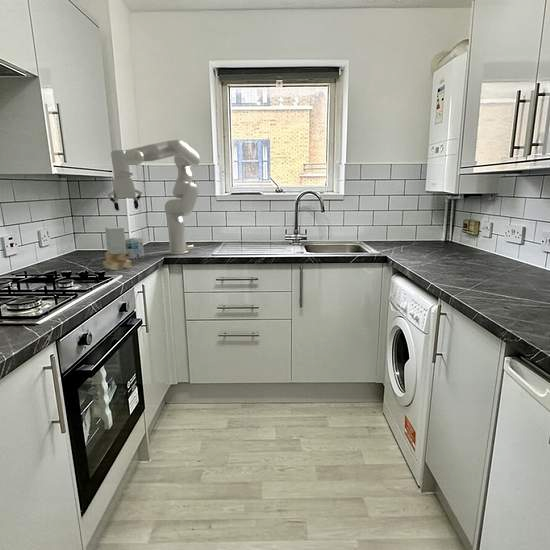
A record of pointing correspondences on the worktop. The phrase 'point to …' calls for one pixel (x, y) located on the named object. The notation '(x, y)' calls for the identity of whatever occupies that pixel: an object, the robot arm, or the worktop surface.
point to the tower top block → (115, 258)
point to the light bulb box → (134, 248)
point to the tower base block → (117, 265)
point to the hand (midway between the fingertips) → (127, 209)
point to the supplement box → (115, 240)
